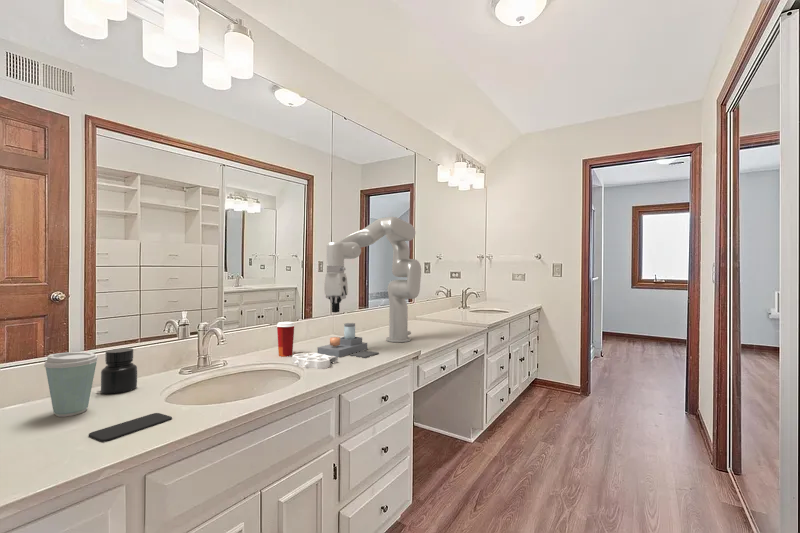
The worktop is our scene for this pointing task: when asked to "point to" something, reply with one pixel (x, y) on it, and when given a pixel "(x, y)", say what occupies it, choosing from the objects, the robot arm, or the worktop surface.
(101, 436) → the phone
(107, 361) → the ink bottle
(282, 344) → the paper cup
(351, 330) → the cylinder
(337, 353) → the grey stepped block
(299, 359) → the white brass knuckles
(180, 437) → the worktop surface
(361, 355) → the mat
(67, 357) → the disposable coffee cup
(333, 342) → the plunger
